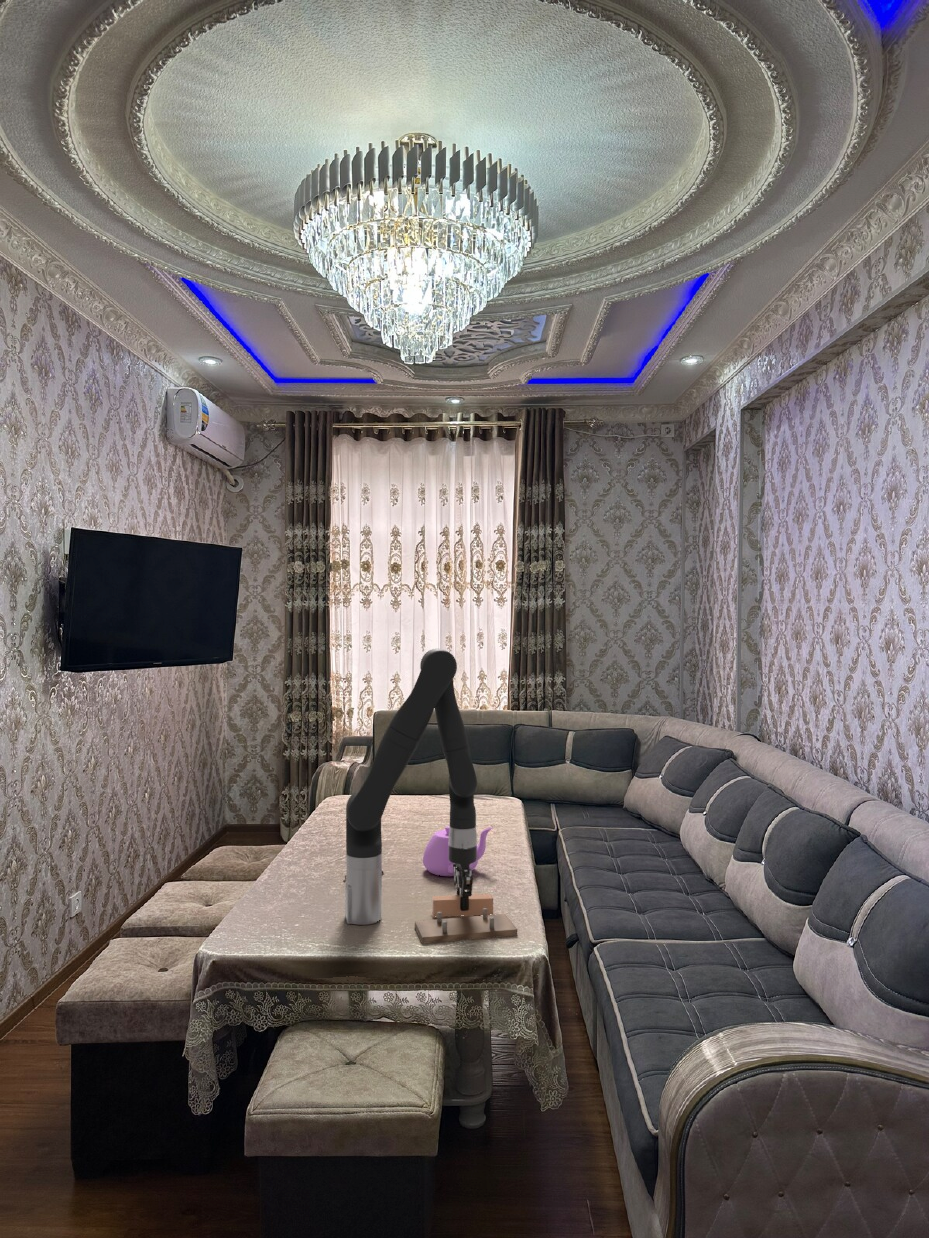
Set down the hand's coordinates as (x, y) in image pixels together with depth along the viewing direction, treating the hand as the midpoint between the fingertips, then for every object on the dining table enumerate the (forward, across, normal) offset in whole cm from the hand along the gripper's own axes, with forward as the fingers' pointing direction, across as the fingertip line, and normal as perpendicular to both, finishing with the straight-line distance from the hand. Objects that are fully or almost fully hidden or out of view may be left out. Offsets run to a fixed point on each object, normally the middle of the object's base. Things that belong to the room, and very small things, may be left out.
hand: (462, 907), depth 225 cm
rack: (+2, +12, -2) cm, 12 cm away
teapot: (+2, -37, +7) cm, 38 cm away
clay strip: (+2, 0, 0) cm, 2 cm away
